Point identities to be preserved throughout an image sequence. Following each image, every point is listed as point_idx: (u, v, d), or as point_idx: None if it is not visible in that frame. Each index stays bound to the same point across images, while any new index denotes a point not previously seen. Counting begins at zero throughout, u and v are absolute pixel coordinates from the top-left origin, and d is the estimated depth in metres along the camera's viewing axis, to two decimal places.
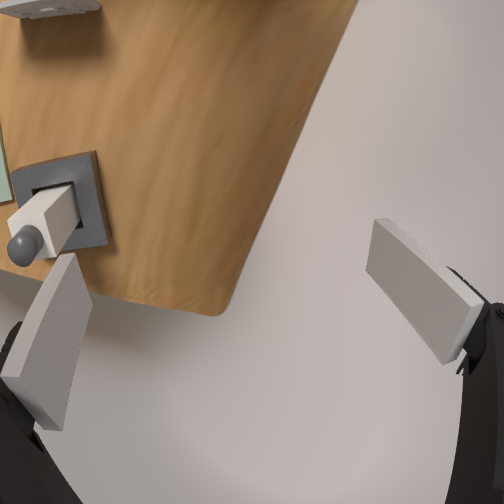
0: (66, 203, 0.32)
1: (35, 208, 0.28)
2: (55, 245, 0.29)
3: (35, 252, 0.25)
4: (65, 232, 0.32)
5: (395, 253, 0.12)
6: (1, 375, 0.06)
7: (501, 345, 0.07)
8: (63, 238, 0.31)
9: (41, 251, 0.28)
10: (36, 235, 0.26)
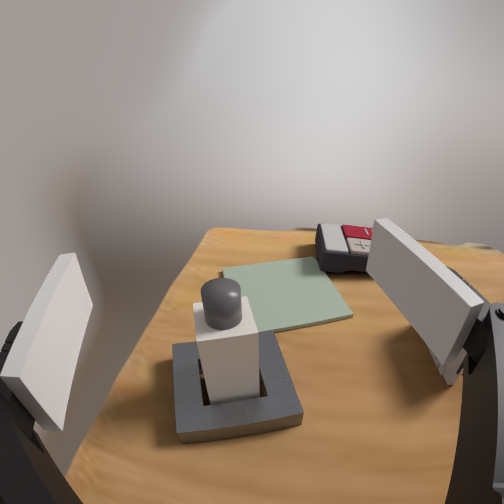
0: (245, 381, 0.28)
1: None
2: (210, 344, 0.25)
3: (217, 307, 0.24)
4: (213, 371, 0.27)
5: (395, 253, 0.12)
6: (1, 375, 0.06)
7: (501, 345, 0.07)
8: (209, 365, 0.26)
9: (205, 326, 0.26)
10: (233, 318, 0.25)
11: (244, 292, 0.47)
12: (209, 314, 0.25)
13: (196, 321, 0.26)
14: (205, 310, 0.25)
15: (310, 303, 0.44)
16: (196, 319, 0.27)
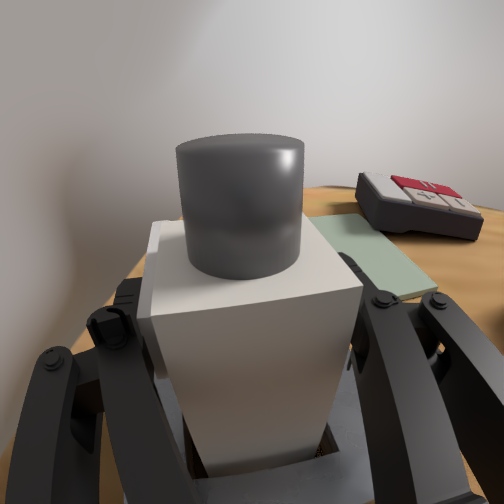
0: (293, 428, 0.10)
1: None
2: (199, 328, 0.07)
3: (228, 184, 0.07)
4: (211, 410, 0.09)
5: None
6: (138, 317, 0.08)
7: (387, 341, 0.07)
8: (198, 395, 0.08)
9: (187, 270, 0.08)
10: (280, 236, 0.07)
11: None
12: (199, 221, 0.07)
13: (161, 259, 0.09)
14: (187, 211, 0.08)
15: (371, 271, 0.26)
16: (162, 254, 0.09)
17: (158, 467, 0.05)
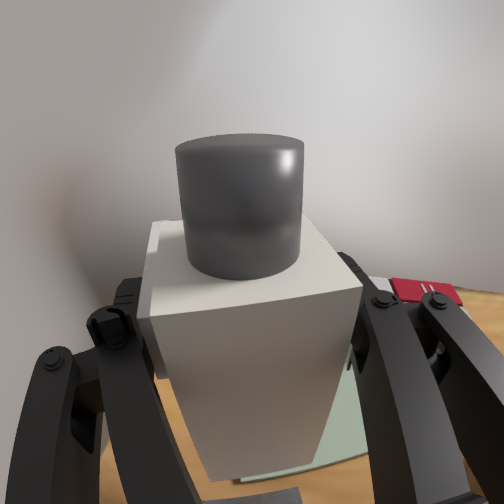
0: (293, 428, 0.10)
1: None
2: (199, 328, 0.07)
3: (228, 184, 0.07)
4: (211, 410, 0.09)
5: None
6: (138, 318, 0.08)
7: (387, 341, 0.07)
8: (197, 396, 0.08)
9: (186, 270, 0.08)
10: (280, 237, 0.07)
11: None
12: (199, 221, 0.07)
13: (160, 259, 0.09)
14: (186, 211, 0.08)
15: (351, 418, 0.25)
16: (162, 254, 0.09)
17: (157, 466, 0.05)
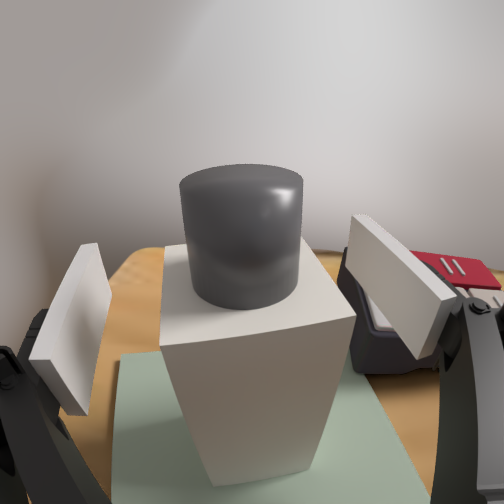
0: (291, 438, 0.11)
1: None
2: (204, 355, 0.07)
3: (231, 225, 0.07)
4: (215, 424, 0.09)
5: (371, 248, 0.12)
6: (30, 359, 0.06)
7: (477, 341, 0.07)
8: (202, 412, 0.09)
9: (191, 299, 0.09)
10: (280, 270, 0.08)
11: (152, 441, 0.15)
12: (203, 257, 0.08)
13: (166, 286, 0.09)
14: (191, 245, 0.08)
15: (327, 491, 0.12)
16: (167, 282, 0.09)
17: (64, 498, 0.04)
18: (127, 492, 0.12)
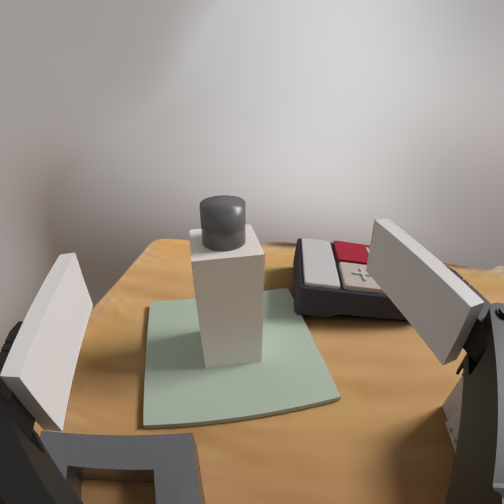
0: (246, 325, 0.25)
1: None
2: (207, 266, 0.21)
3: (217, 219, 0.21)
4: (209, 307, 0.23)
5: (395, 253, 0.12)
6: (1, 375, 0.06)
7: (501, 345, 0.07)
8: (204, 298, 0.23)
9: (202, 248, 0.23)
10: (235, 236, 0.22)
11: (171, 346, 0.29)
12: (208, 231, 0.22)
13: (192, 244, 0.23)
14: (203, 227, 0.22)
15: (270, 374, 0.26)
16: (192, 242, 0.23)
17: None
18: (154, 374, 0.26)
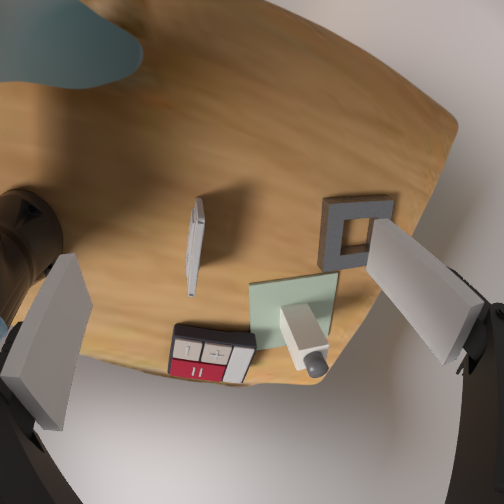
0: (295, 322, 0.52)
1: (294, 349, 0.50)
2: (322, 343, 0.48)
3: (321, 361, 0.46)
4: (315, 328, 0.51)
5: (395, 253, 0.12)
6: (1, 375, 0.06)
7: (501, 345, 0.07)
8: (318, 331, 0.50)
9: (322, 352, 0.48)
10: (311, 357, 0.47)
11: (320, 312, 0.59)
12: (323, 358, 0.47)
13: (326, 354, 0.49)
14: (325, 360, 0.47)
15: (278, 299, 0.55)
16: (326, 355, 0.49)
17: None
18: (330, 297, 0.58)
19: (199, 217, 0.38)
